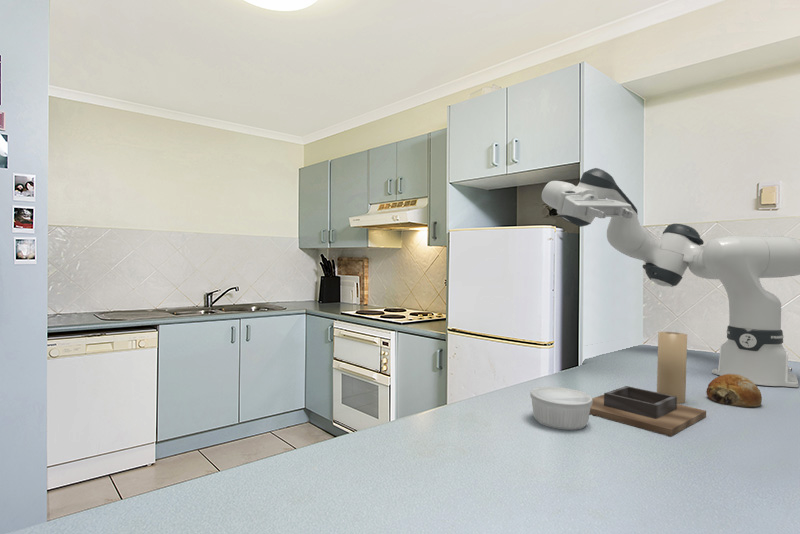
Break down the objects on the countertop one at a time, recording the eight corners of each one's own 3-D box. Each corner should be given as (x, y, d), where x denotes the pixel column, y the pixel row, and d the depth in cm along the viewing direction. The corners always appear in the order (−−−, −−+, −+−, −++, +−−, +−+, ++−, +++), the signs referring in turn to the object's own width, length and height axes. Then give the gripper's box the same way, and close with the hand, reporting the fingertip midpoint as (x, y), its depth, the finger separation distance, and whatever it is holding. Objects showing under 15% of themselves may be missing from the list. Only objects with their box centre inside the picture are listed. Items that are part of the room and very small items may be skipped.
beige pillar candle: (662, 394, 107) (664, 330, 107) (689, 400, 103) (691, 333, 103) (652, 398, 103) (654, 332, 103) (679, 405, 99) (681, 335, 99)
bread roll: (764, 425, 98) (781, 392, 98) (721, 404, 98) (738, 371, 98) (731, 411, 108) (747, 381, 108) (692, 391, 108) (708, 361, 108)
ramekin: (571, 437, 79) (572, 407, 79) (517, 419, 88) (518, 392, 88) (603, 424, 86) (604, 396, 86) (550, 409, 95) (551, 383, 95)
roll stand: (616, 395, 106) (616, 379, 106) (706, 416, 92) (706, 398, 92) (575, 409, 94) (575, 391, 94) (671, 436, 80) (671, 415, 80)
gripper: (606, 213, 140) (643, 226, 128) (552, 213, 132) (585, 227, 120) (612, 193, 137) (649, 204, 125) (556, 191, 130) (591, 203, 118)
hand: (617, 215), depth 123 cm, fingers open, 8 cm apart
